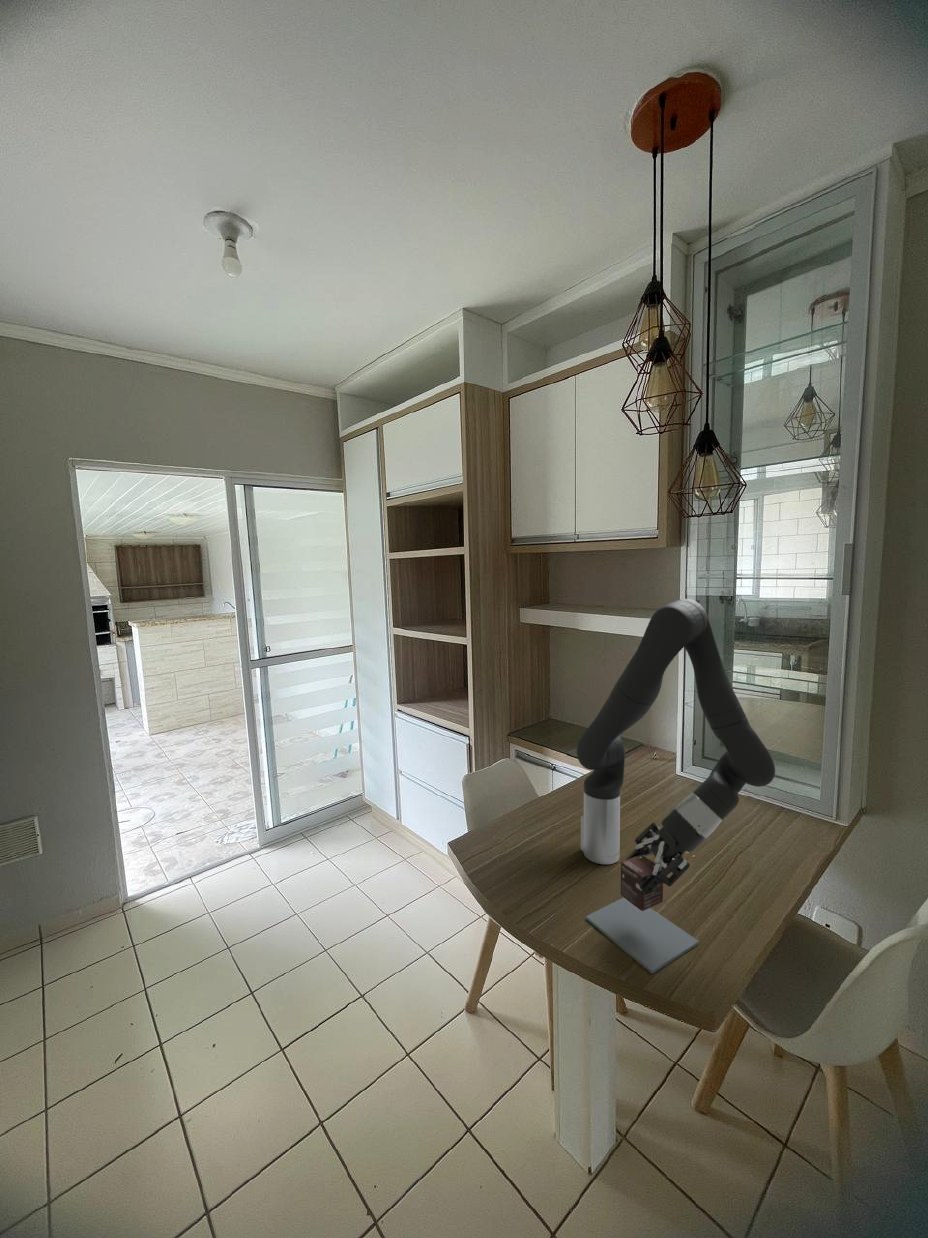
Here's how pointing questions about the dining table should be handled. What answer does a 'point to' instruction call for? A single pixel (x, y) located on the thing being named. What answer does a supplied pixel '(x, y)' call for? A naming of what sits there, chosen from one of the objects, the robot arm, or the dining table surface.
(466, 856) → the dining table surface
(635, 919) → the mat
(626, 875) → the box
